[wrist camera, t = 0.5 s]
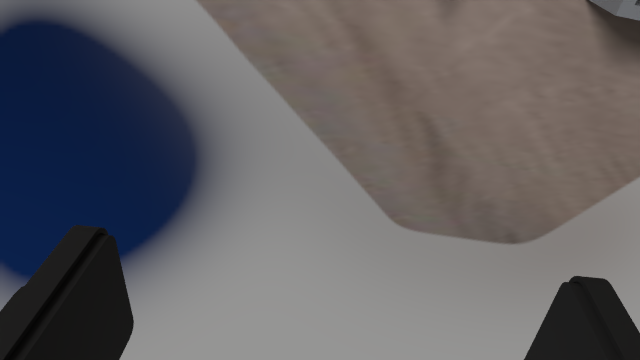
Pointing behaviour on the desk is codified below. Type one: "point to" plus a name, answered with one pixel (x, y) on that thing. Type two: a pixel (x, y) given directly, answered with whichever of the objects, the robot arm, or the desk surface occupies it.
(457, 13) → the desk surface
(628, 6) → the box
